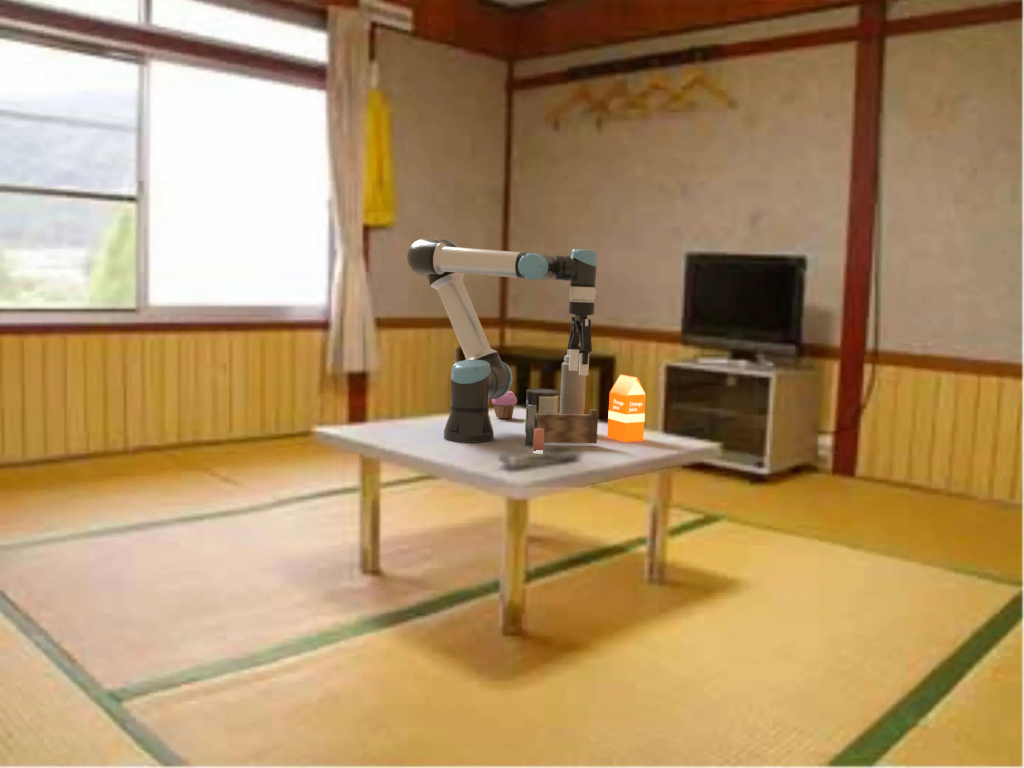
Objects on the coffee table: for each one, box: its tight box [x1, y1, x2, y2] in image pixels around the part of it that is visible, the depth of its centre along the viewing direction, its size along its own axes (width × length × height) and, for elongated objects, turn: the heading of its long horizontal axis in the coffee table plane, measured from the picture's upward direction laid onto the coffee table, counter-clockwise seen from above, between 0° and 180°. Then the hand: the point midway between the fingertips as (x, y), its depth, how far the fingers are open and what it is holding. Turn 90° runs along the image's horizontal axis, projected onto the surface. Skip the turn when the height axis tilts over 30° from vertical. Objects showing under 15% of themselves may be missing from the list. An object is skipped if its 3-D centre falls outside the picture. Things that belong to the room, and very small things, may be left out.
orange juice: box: [607, 373, 647, 443], centre depth 296 cm, size 8×9×20 cm
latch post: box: [532, 428, 545, 452], centre depth 266 cm, size 3×3×7 cm
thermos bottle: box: [559, 345, 587, 414], centre depth 303 cm, size 8×8×28 cm
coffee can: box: [524, 388, 560, 435], centre depth 297 cm, size 10×10×14 cm
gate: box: [537, 408, 599, 444], centre depth 280 cm, size 18×2×10 cm, turn 99°
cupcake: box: [491, 390, 518, 420], centre depth 328 cm, size 9×9×10 cm
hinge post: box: [524, 405, 536, 447], centre depth 278 cm, size 3×3×12 cm
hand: (578, 372), depth 285 cm, fingers open, 12 cm apart
